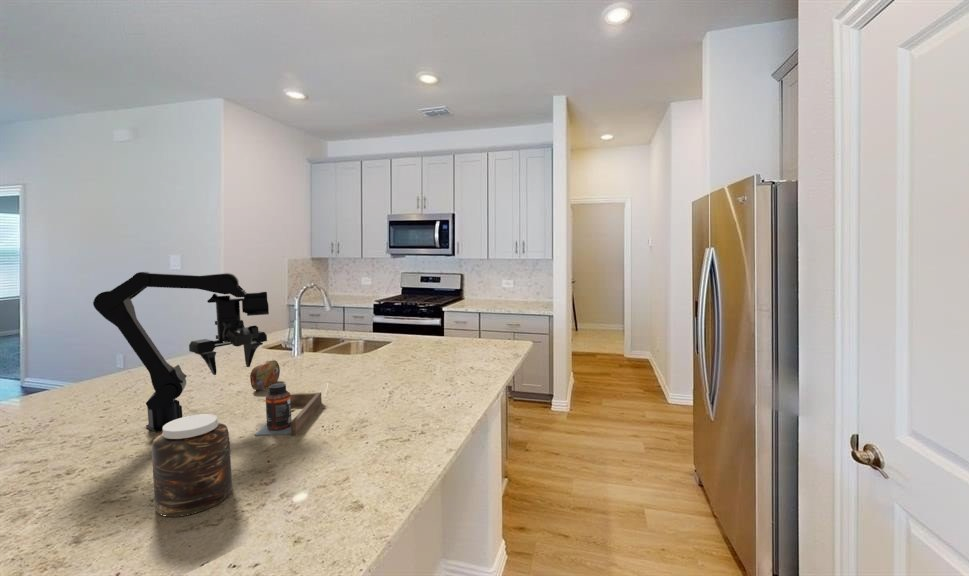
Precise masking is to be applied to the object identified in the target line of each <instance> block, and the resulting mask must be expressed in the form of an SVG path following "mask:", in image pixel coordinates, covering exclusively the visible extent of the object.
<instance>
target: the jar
mask: <svg viewBox="0 0 969 576" xmlns="http://www.w3.org/2000/svg"><path fill="white" fill-rule="evenodd" d="M151 459H152V464H151V465H152V479H153V481H152V482H153V493H154V494H153V495H154V505H155V506H154V507H155V511H157V512H158V513H159V514H162V515H166V516H180V517H182V516H181V515H186V516H188V515H187V514H191V515H193V514H192V513H195V512H198V513H200V512H199V511H201V512H203V511H202V510H204V511H206V510H205V509H207V510H209V509H211V508H213V507H216V506H217V505H219V504H221V503H222V502H224V501H225V500H226V499H227V498H228V497H230V496H231V494H232V491H233V480H232V479H233V477H232V461H231V460H232V459H231V445H230V434H229V428H228V427H227V425H226V424H224V423H221V422H219V421H218V416H217V415H215V414H210V413H204V414H203V413H202V414H201V413H200V414H191V415H188V416H182V418H179V419H175V420H173V421H170V422H168V423H167V424H165V425H164V426H163V430H162V433H161V434H159V435H158V436H156V437H155V438H154V439H153V441H152V446H151ZM223 500H224V501H223ZM220 502H221V503H220ZM218 503H219V504H218ZM216 504H217V505H216ZM210 507H211V508H210ZM208 508H209V509H208ZM157 512H156V513H157ZM158 513H157V514H158ZM159 514H158V515H159ZM195 514H196V513H195ZM162 515H161V516H162ZM166 516H165V517H166Z"/></svg>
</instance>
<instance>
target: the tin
mask: <svg viewBox="0 0 969 576" xmlns="http://www.w3.org/2000/svg"><path fill="white" fill-rule="evenodd" d="M280 369H281V368H280V365H279V362H277V360H276V359H275V360H274V359H273V360H266V361H264V362H262V363H260V364H259V365H256V366H254V367H253V368H252V369H251V371H250V375H249V378H250V379H249V380H250V385H251V389H253V390H255V391H264V390H266V389H269V386H271V385H273V384H277V381H278V380H279V378H280V374H281V370H280Z"/></svg>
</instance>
